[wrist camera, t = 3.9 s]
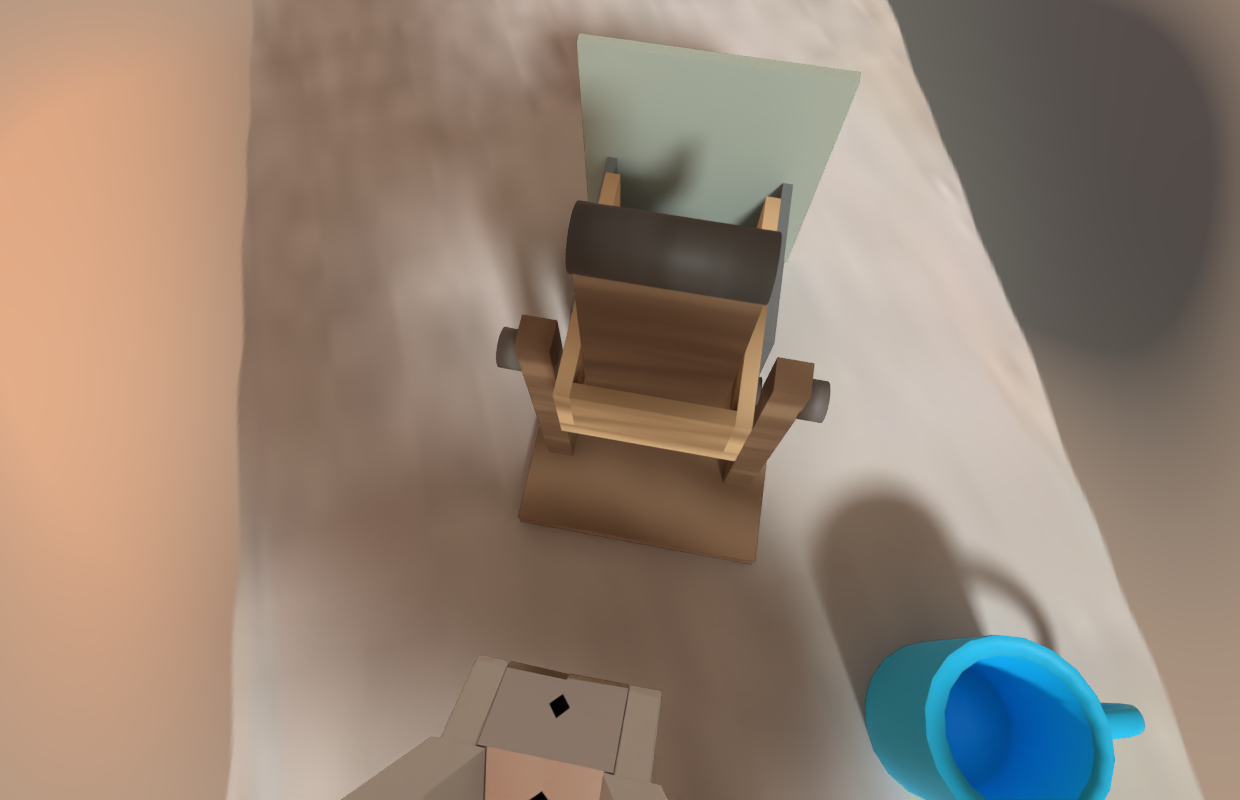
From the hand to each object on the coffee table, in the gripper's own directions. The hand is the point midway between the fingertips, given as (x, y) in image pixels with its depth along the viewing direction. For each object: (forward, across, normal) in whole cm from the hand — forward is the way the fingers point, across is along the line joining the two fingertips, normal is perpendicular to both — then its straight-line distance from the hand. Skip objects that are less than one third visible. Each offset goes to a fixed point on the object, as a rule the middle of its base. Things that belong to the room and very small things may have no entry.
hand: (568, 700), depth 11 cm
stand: (+30, 0, -12) cm, 32 cm away
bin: (+38, 0, -5) cm, 38 cm away
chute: (+21, 0, -2) cm, 22 cm away
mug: (+22, +20, -21) cm, 36 cm away
